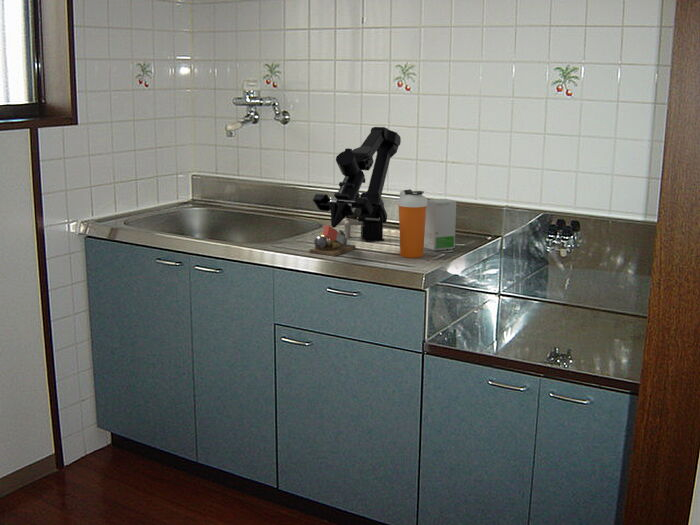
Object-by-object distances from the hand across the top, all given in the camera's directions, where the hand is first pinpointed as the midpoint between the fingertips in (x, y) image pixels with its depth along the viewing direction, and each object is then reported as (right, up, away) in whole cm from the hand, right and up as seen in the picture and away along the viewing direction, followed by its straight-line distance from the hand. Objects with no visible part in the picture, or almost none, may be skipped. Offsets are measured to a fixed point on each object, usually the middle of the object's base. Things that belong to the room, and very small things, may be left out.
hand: (332, 226), depth 254 cm
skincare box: (+34, -6, +15) cm, 37 cm away
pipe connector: (+4, -2, +31) cm, 32 cm away
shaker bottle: (+24, -9, +4) cm, 26 cm away
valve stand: (0, -7, +11) cm, 13 cm away
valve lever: (+4, -4, +9) cm, 11 cm away
